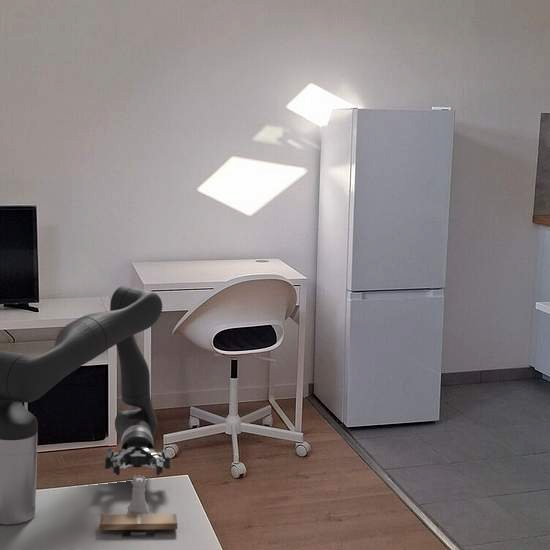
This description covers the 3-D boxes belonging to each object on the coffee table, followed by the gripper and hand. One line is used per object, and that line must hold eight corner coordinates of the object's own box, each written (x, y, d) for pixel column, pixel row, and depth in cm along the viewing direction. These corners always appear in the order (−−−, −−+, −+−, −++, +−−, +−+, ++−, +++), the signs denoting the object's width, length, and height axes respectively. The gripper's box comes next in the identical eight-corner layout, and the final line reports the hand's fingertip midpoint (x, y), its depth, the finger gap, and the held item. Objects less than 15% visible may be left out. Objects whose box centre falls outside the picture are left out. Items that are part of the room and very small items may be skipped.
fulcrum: (122, 537, 162) (122, 533, 162) (122, 522, 169) (123, 519, 169) (154, 536, 163) (154, 533, 163) (153, 522, 170) (153, 518, 170)
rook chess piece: (149, 510, 175) (151, 474, 174) (147, 520, 171) (149, 482, 170) (128, 509, 175) (129, 473, 174) (125, 518, 171) (126, 481, 170)
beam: (99, 530, 162) (99, 524, 162) (100, 520, 167) (100, 514, 167) (177, 529, 165) (177, 523, 165) (175, 519, 170) (176, 513, 169)
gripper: (106, 429, 194) (105, 453, 178) (168, 430, 196) (172, 454, 180) (105, 460, 194) (103, 487, 179) (167, 460, 197) (171, 487, 181)
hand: (138, 470), depth 180 cm, fingers open, 8 cm apart
